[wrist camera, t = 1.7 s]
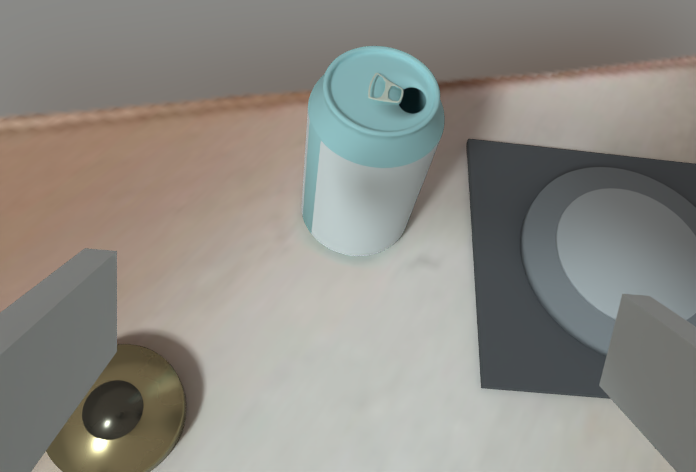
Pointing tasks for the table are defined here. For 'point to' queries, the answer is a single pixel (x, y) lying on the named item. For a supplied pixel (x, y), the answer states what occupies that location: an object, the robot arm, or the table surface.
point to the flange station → (572, 257)
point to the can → (368, 148)
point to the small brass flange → (124, 417)
